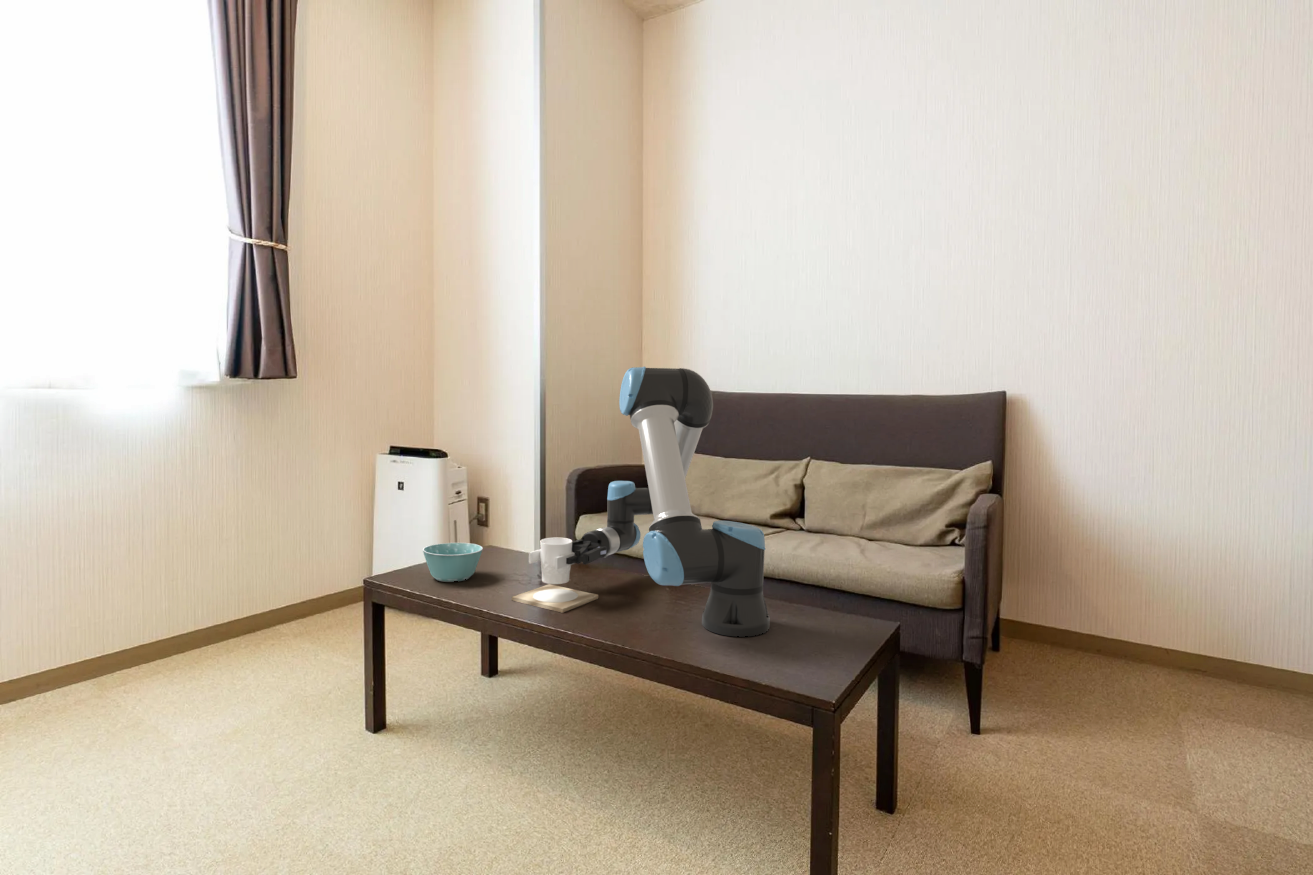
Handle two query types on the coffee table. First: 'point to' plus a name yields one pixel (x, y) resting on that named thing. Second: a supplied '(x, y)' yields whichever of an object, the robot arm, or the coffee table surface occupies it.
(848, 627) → the coffee table surface
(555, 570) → the white cup
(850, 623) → the coffee table surface
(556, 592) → the coaster board
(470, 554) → the bowl
